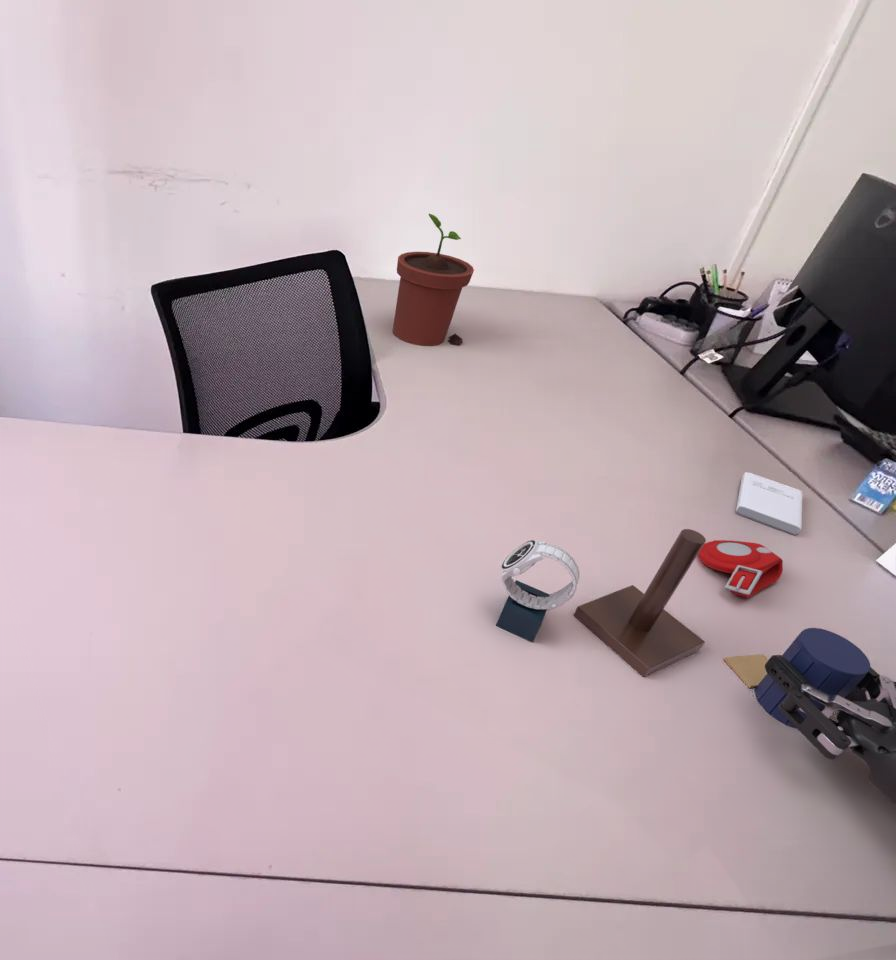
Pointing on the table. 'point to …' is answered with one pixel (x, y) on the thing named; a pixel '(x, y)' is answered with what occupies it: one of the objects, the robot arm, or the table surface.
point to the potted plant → (429, 294)
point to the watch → (532, 589)
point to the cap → (806, 669)
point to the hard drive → (770, 503)
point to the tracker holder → (743, 565)
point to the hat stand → (647, 614)
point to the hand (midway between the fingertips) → (805, 657)
